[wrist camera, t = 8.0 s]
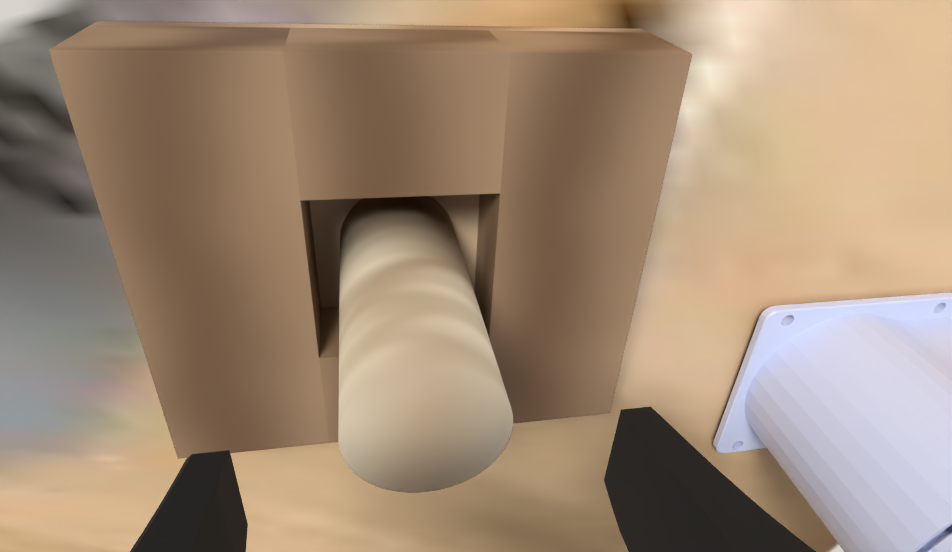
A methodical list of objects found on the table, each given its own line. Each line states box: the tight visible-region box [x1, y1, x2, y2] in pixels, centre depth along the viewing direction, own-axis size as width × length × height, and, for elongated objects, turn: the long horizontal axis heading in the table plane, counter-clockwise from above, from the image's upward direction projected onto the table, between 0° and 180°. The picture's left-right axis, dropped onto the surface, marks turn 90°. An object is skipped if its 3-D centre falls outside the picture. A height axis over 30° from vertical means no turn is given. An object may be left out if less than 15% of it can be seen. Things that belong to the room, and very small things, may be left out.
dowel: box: [338, 196, 513, 493], centre depth 16 cm, size 4×4×8 cm
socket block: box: [49, 21, 692, 459], centre depth 18 cm, size 14×12×3 cm
